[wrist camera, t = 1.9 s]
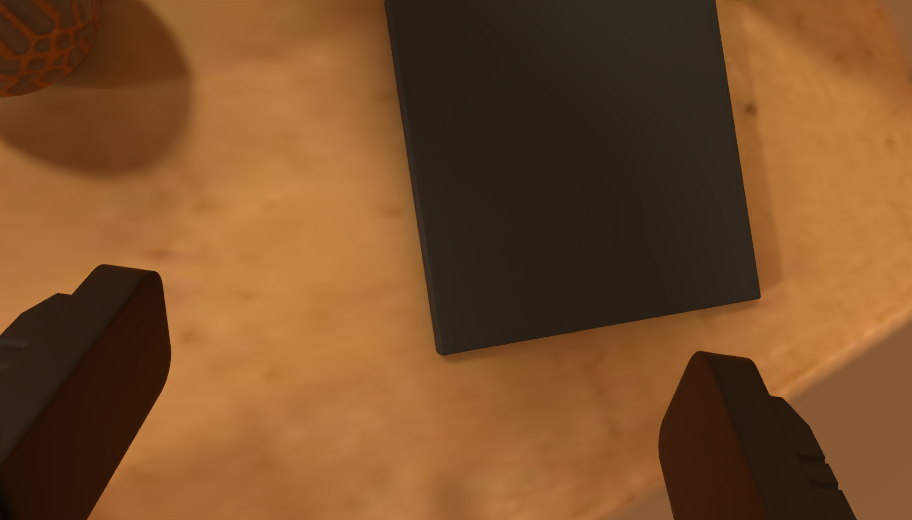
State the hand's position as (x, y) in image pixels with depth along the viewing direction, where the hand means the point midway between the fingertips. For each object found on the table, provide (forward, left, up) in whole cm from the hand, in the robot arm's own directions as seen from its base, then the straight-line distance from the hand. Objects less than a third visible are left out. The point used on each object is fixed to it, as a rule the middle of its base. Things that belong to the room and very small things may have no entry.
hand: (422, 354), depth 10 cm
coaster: (-5, +10, -16) cm, 19 cm away
